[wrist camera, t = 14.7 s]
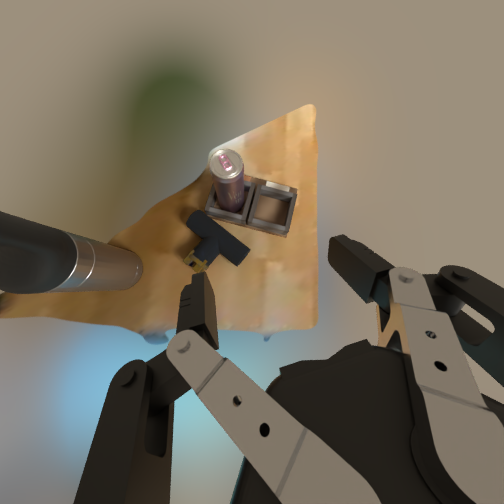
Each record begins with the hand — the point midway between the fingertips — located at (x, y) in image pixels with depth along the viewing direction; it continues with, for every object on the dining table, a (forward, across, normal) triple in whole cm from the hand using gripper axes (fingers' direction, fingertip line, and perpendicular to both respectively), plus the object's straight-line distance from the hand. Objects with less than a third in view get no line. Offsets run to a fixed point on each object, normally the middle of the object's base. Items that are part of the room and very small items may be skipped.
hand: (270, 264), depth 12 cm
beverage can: (+36, -1, +9) cm, 37 cm away
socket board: (+36, -6, +10) cm, 38 cm away
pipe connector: (+30, +7, +17) cm, 35 cm away
